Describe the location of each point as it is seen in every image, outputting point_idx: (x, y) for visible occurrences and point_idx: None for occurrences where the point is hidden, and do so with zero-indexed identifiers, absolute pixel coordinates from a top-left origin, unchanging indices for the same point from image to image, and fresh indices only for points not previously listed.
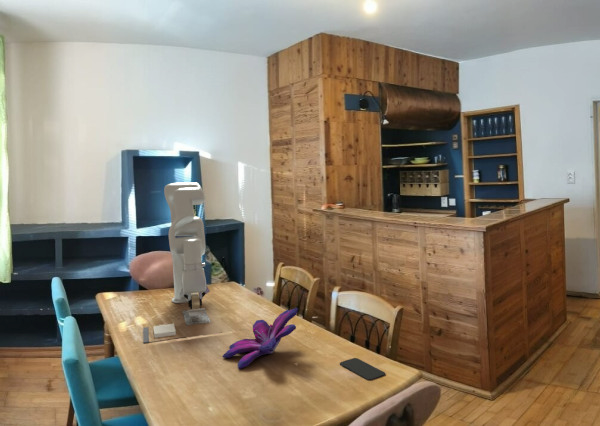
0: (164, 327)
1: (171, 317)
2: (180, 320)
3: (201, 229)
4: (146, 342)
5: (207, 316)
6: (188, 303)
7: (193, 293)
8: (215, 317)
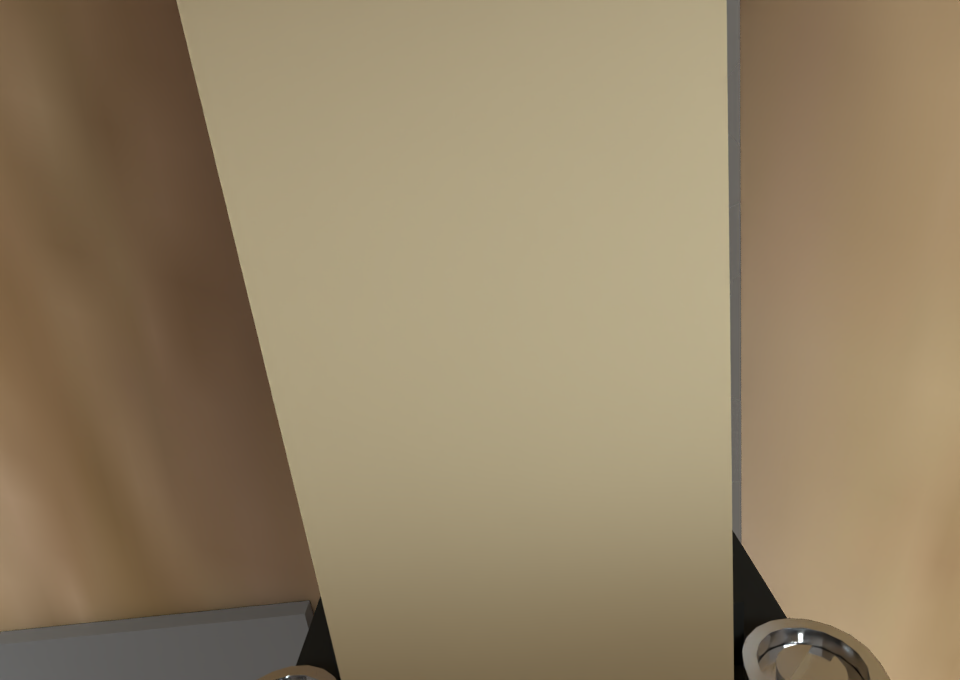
0: None
1: (16, 184)
2: (241, 428)
3: None
4: None
5: (732, 497)
6: (324, 618)
7: (491, 429)
8: (863, 444)
